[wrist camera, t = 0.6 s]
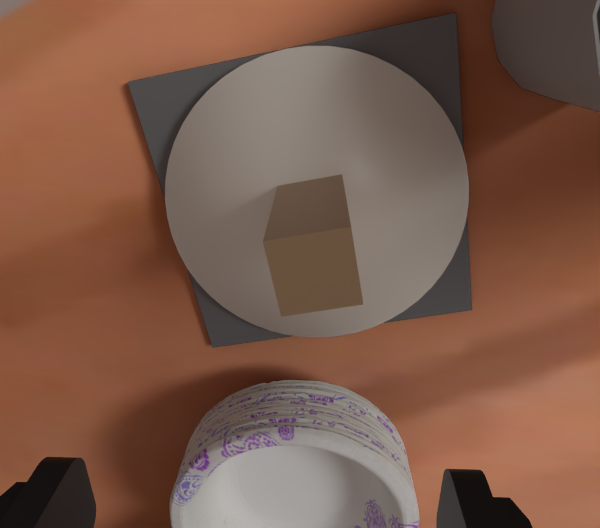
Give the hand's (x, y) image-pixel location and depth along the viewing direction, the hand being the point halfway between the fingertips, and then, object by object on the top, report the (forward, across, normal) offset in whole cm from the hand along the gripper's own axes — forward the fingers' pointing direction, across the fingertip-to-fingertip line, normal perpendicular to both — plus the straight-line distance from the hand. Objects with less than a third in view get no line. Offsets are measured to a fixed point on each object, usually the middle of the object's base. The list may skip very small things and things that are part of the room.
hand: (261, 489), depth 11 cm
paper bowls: (+20, 0, +18) cm, 27 cm away
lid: (+19, -1, 0) cm, 19 cm away
